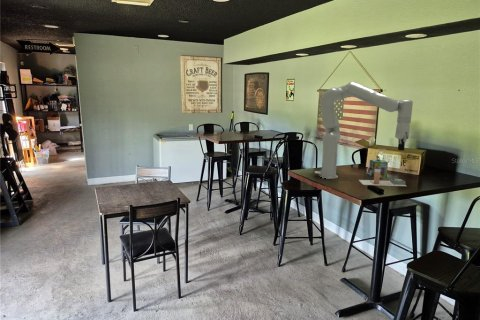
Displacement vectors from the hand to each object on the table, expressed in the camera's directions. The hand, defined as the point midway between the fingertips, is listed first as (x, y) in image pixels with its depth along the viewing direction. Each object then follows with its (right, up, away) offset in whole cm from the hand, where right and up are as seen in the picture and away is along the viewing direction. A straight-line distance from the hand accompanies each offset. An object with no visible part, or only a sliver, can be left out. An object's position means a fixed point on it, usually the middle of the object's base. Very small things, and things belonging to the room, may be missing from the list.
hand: (400, 150), depth 202 cm
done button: (0, -20, +4) cm, 21 cm away
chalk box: (-5, -18, +24) cm, 30 cm away
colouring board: (-10, -21, +5) cm, 24 cm away
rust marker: (-14, -21, +4) cm, 25 cm away
